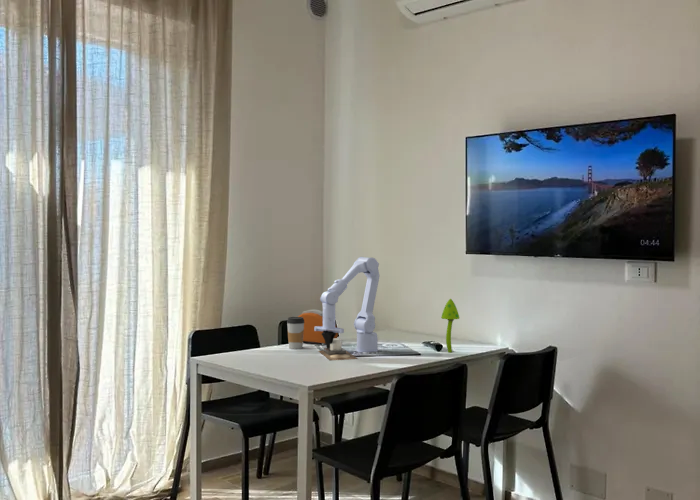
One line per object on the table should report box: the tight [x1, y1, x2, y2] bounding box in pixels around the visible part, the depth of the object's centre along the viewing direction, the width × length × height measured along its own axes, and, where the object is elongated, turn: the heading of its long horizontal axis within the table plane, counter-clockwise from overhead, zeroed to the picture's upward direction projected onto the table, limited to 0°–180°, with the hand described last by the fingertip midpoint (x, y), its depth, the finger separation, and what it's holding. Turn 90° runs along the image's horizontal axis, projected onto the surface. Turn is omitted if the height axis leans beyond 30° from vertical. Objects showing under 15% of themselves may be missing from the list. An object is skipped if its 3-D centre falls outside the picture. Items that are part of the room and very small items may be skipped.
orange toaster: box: [297, 309, 339, 346], centre depth 349 cm, size 23×9×17 cm, turn 59°
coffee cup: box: [286, 316, 304, 350], centre depth 332 cm, size 8×8×15 cm
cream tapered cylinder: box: [330, 337, 343, 351], centre depth 317 cm, size 9×5×6 cm, turn 161°
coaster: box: [330, 354, 350, 359], centre depth 310 cm, size 9×9×1 cm
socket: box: [323, 347, 347, 355], centre depth 319 cm, size 8×8×2 cm
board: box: [317, 349, 359, 361], centre depth 315 cm, size 13×24×1 cm, turn 15°
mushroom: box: [440, 298, 460, 353], centre depth 324 cm, size 8×8×25 cm
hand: (328, 347), depth 316 cm, fingers closed
